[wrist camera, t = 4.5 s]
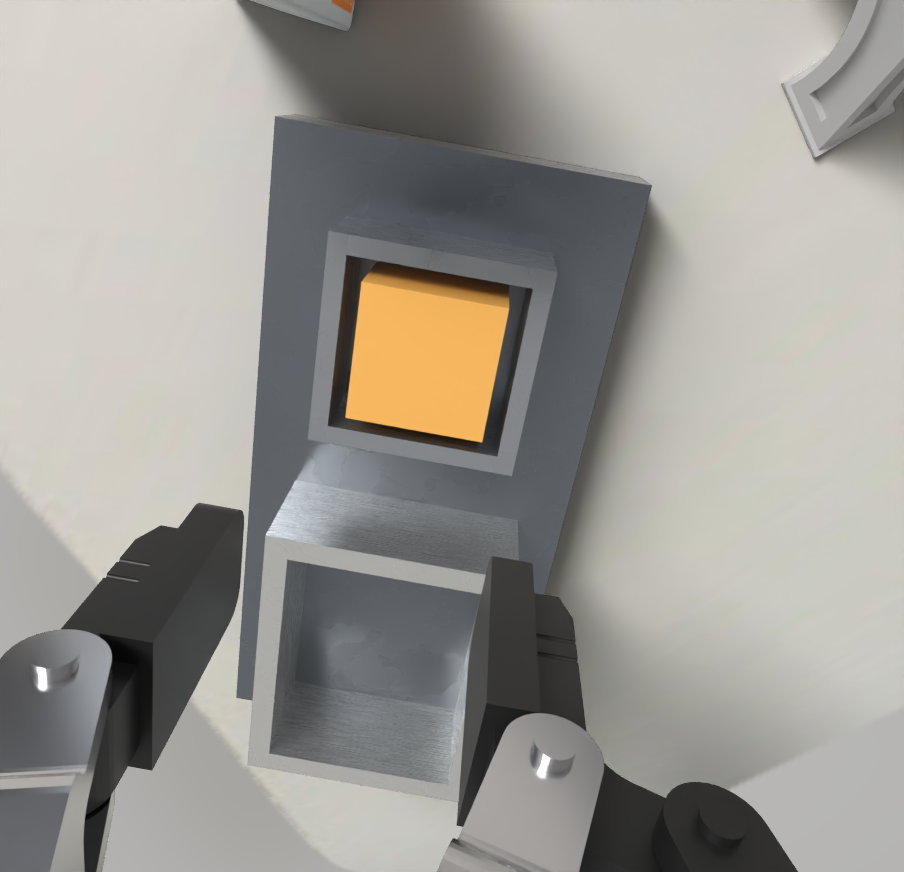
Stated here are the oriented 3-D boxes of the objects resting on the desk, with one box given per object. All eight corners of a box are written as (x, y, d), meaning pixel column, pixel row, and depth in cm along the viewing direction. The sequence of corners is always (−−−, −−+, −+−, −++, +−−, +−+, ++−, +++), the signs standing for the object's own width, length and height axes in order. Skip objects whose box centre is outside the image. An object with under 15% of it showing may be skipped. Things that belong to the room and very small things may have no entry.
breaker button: (509, 285, 26) (509, 308, 23) (484, 407, 27) (481, 442, 25) (377, 261, 26) (361, 282, 23) (361, 385, 27) (345, 417, 25)
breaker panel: (639, 177, 27) (677, 202, 21) (504, 704, 37) (504, 823, 31) (295, 114, 27) (233, 121, 21) (253, 659, 36) (203, 770, 31)
